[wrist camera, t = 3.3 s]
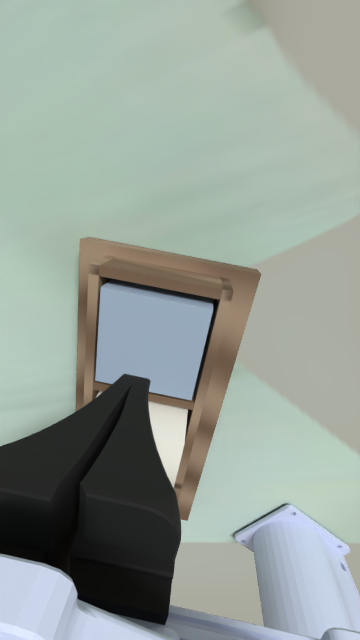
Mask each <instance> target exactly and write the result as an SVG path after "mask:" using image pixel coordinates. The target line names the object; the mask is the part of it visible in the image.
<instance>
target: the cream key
mask: <svg viewBox="0 0 360 640" xmlns="http://www.w3.org/2000/svg"><path fill="white" fill-rule="evenodd" d="M102 392H103V391H99V393H98V394H97V396H99V395H100V394H101V393H102ZM97 396H96V397H97ZM148 404H149V415H150V421H151V427H152V432H153V436H154V440H155V443H156V447H157V450H158V453H159V455H160V458H161V461H162V464H163V466H164V469H165V471H166V473H167V476H168V478H169V480H170V482H171V484H172V486H173V488H174V485H175V481H176V477H177V473H178V469H179V465H180V461H181V457H182V453H183V448H184V444H185V434H186V424H187V414H188V409H185V408H180V407H175V406H171V405H166V404H161V403H156V402H151V401H148Z"/></svg>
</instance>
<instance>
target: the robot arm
mask: <svg viewBox="0 0 360 640" xmlns="http://www.w3.org/2000/svg"><path fill="white" fill-rule="evenodd" d="M150 382H151V381H150V380H149V379H148V378H143V377H138V376H134V375H129V374H123V375H122V376H121V377H120V378H119V379H117V380H116V381H115V382H114V383H113V384H112V385H111V386H110V387H108V388H107V389H106V390H105V391H104V392H102V393H101V394H100V395H99V396H97V397H96V398H95V399H94V400H92V401H91V402H89V403H88V404H87V405H85V406H84V407H82V408H81V409H79V410H78V411H76V412H75V413H73V414H72V415H70V416H68V417H66V418H65V419H63V420H61V421H59V422H57V423H56V424H54V425H52V426H50V427H48V428H46V429H44V430H42V431H39V432H37V433H35V434H32V435H30V436H28V437H25V438H23V439H20V440H17V441H15V442H12V443H9V444H6V445H3V446H0V640H360V596H359V593H358V591H357V588H356V586H355V583H354V581H353V578H352V576H351V573H350V571H349V568H348V566H347V563H346V561H345V558H344V555H346V554H348V553H349V552H350V549H349V547H348V545H346V544H345V543H343V542H342V541H341V540H339V539H338V538H337V537H335V536H334V535H332V534H331V533H330V532H328V531H327V530H326V529H324V528H323V527H321V526H320V525H319V524H317V523H316V522H315V521H313V520H312V519H310V518H309V517H308V516H306V515H305V514H303V513H302V512H301V511H299V510H298V509H297V508H295V507H294V506H292V505H289V504H288V505H285V506H283V507H282V508H280V509H278V510H276V511H275V512H273V513H271V514H269V515H268V516H266V517H264V518H262V519H261V520H259V521H257V522H255V523H253V524H252V525H250V526H248V527H246V528H245V529H243V530H241V531H239V532H238V533H236V534H235V540H236V541H237V542H239V543H241V544H242V545H244V546H245V547H247V548H248V549H250V550H251V551H253V552H254V556H255V563H256V570H257V578H258V585H259V592H260V600H261V606H262V615H263V621H264V626H260V625H256V624H251V623H247V622H242V621H238V620H233V619H229V618H225V617H219V616H216V615H211V614H207V613H202V612H198V611H193V610H189V609H185V608H181V607H176V606H172V605H169V604H170V594H171V583H172V579H173V574H174V564H175V558H176V555H177V551H178V548H179V544H180V541H181V520H180V513H179V506H178V501H177V496H176V492H175V490H174V488H173V486H172V484H171V482H170V480H169V478H168V476H167V473H166V471H165V469H164V466H163V464H162V461H161V458H160V455H159V453H158V450H157V447H156V443H155V440H154V436H153V432H152V427H151V421H150V415H149V404H148V394H149V388H150Z"/></svg>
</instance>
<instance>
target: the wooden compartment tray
mask: <svg viewBox="0 0 360 640" xmlns="http://www.w3.org/2000/svg"><path fill="white" fill-rule="evenodd" d="M260 276H261V274H260V272H259V271H258V270H257V269H251V268H247V267H242V266H236V265H231V264H226V263H221V262H216V261H211V260H205V259H200V258H195V257H190V256H185V255H180V254H174V253H169V252H164V251H159V250H154V249H149V248H143V247H138V246H133V245H128V244H123V243H118V242H113V241H107V240H102V239H97V238H92V237H87V238H82V239H80V260H79V301H78V342H77V383H76V411H78V410H79V409H81V408H82V407H84V406H85V405H87V404H88V403H89V402H91V401H92V400H94V399H95V398H96V396H97V394H98V393H99V391H103V392H104V391H105V390H106V389H107V388H108V387H110V386H111V385H112V384H109V383H104V382H99V381H95V377H96V360H97V343H98V325H99V308H100V291H101V287H102V286H103V285H104V284H106V283H107V282H109V281H110V280H112V279H117V280H123V281H128V282H133V283H138V284H143V285H148V286H153V287H158V288H163V289H168V290H173V291H178V292H183V293H189V294H194V295H199V296H204V297H209V298H213V313H212V317H211V321H210V325H209V330H208V334H207V338H206V342H205V346H204V350H203V355H202V359H201V363H200V367H199V371H198V375H197V380H196V384H195V388H194V392H193V396H192V400H187V399H182V398H177V397H172V396H167V395H163V394H158V393H153V392H149V394H148V401H151V402H156V403H161V404H166V405H171V406H175V407H180V408H185V409H188V414H187V424H186V434H185V444H184V448H183V453H182V457H181V461H180V465H179V469H178V473H177V477H176V481H175V485H174V490H175V492H176V496H177V501H178V506H179V513H180V519H182V520H186V521H187V520H188V517H189V514H190V510H191V507H192V504H193V500H194V497H195V494H196V490H197V487H198V484H199V480H200V477H201V474H202V470H203V467H204V463H205V460H206V457H207V453H208V450H209V447H210V443H211V440H212V437H213V433H214V430H215V427H216V423H217V420H218V417H219V413H220V410H221V407H222V403H223V400H224V397H225V393H226V390H227V387H228V383H229V380H230V377H231V373H232V370H233V367H234V363H235V360H236V356H237V353H238V350H239V346H240V343H241V340H242V336H243V333H244V330H245V326H246V323H247V319H248V316H249V313H250V310H251V306H252V303H253V300H254V296H255V293H256V289H257V286H258V283H259V280H260Z"/></svg>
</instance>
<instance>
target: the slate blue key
mask: <svg viewBox="0 0 360 640" xmlns="http://www.w3.org/2000/svg"><path fill="white" fill-rule="evenodd" d="M212 313H213V298H209V297H204V296H199V295H194V294H189V293H183V292H178V291H173V290H168V289H163V288H158V287H153V286H148V285H143V284H138V283H133V282H128V281H123V280H117V279H112V280H110V281H109V282H107V283H106V284H104V285H103V286H102V287H101V291H100V308H99V325H98V343H97V360H96V377H95V381H99V382H104V383H109V384H113V383H114V382H115V381H116V380H117V379H119V378H120V377H121V376H122V375H123V374H129V375H134V376H138V377H143V378H148V379H149V380H150V381H151V382H150V388H149V392H153V393H158V394H163V395H167V396H172V397H177V398H182V399H187V400H192V396H193V392H194V388H195V384H196V380H197V375H198V371H199V367H200V363H201V359H202V355H203V350H204V346H205V342H206V338H207V334H208V330H209V325H210V321H211V317H212Z"/></svg>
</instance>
